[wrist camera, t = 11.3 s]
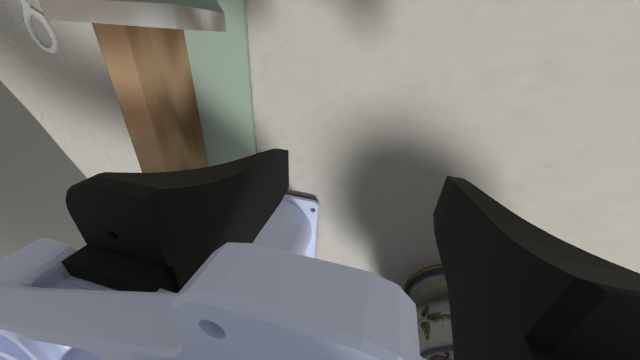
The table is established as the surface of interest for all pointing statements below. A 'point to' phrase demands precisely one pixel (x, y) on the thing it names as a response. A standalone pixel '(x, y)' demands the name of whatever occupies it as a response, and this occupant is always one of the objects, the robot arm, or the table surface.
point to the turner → (149, 73)
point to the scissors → (30, 11)
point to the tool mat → (221, 81)
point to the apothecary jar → (432, 313)
